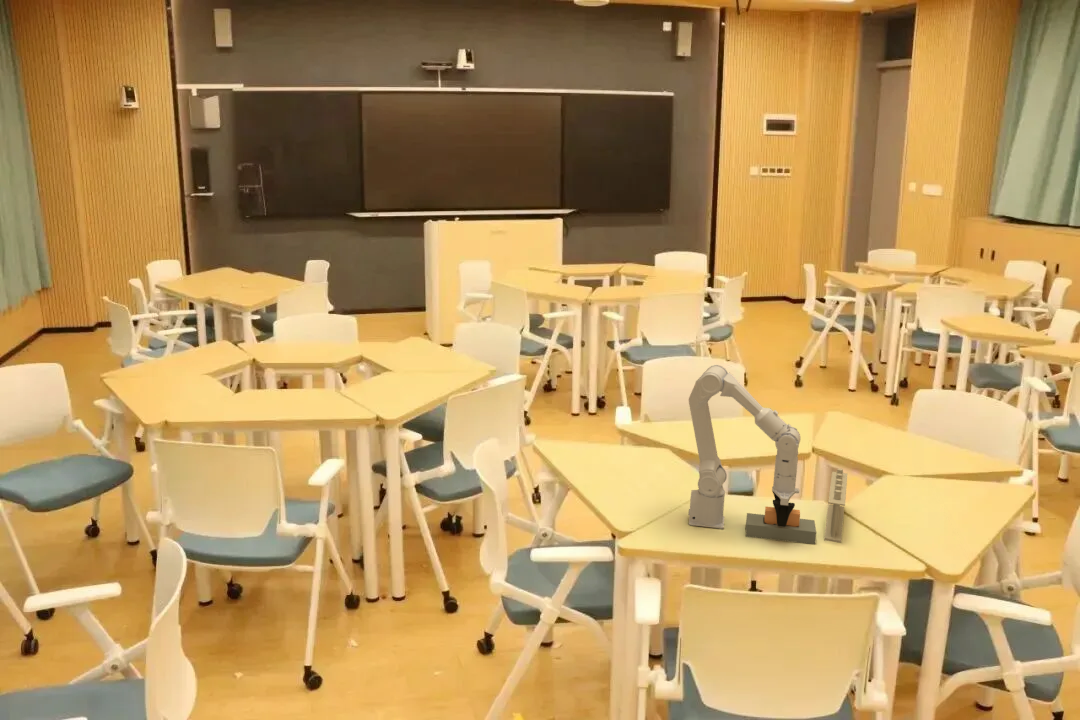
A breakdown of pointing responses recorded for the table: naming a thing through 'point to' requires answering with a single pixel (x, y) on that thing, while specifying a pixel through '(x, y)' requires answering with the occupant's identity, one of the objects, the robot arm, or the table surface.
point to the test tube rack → (836, 506)
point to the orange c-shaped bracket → (772, 519)
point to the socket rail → (780, 530)
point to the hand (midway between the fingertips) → (781, 520)
